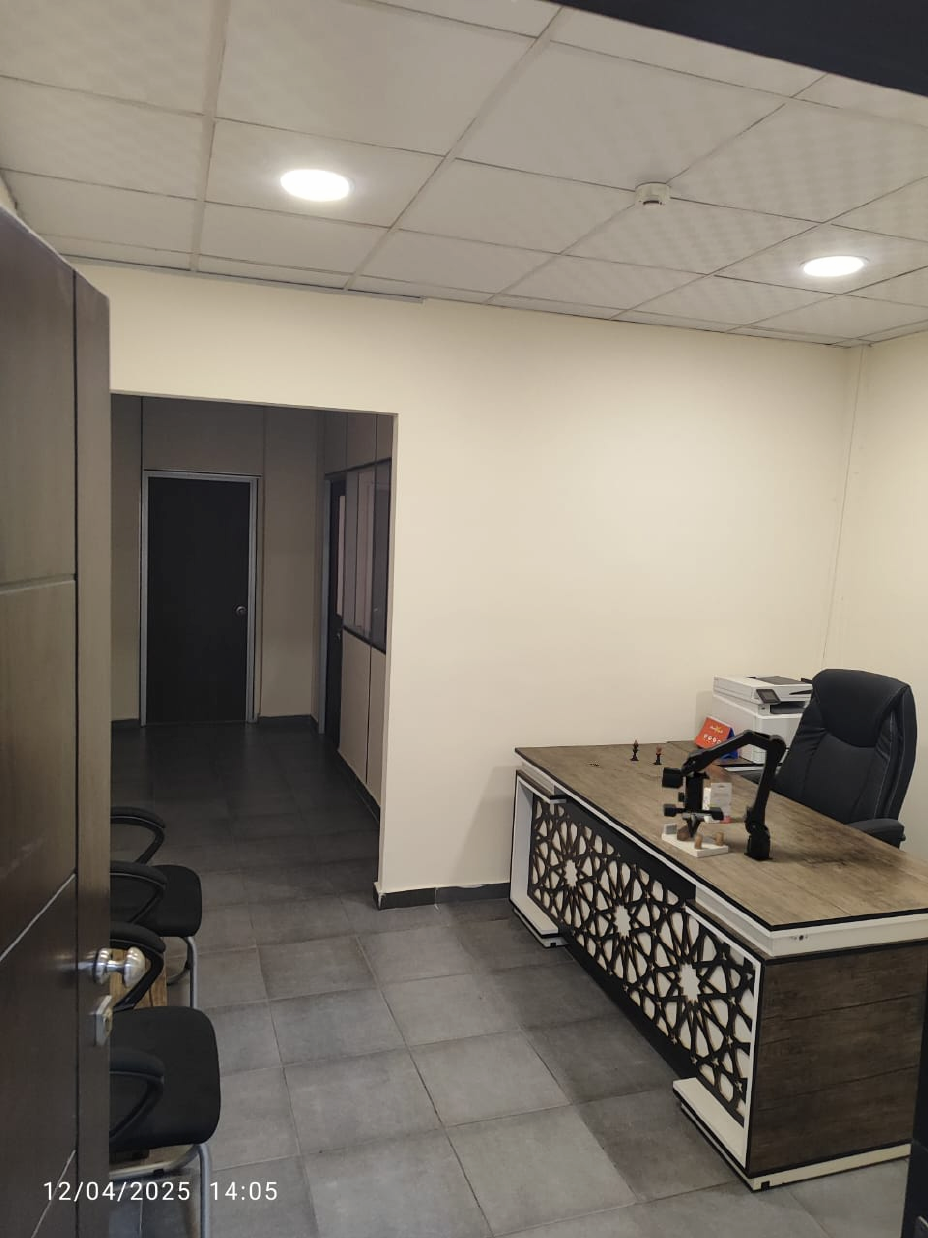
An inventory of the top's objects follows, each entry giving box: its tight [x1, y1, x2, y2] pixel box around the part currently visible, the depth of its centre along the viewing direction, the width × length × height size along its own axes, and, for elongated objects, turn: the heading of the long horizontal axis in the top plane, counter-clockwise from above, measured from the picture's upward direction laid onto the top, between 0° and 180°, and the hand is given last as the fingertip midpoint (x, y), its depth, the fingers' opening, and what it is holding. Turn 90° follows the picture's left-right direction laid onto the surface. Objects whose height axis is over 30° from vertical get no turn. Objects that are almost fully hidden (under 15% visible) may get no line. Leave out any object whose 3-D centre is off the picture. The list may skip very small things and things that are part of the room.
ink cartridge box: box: [702, 782, 733, 824], centre depth 306 cm, size 9×5×15 cm, turn 101°
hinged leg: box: [677, 819, 698, 841], centre depth 283 cm, size 12×2×4 cm, turn 144°
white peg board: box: [661, 822, 729, 858], centre depth 280 cm, size 17×13×6 cm
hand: (691, 837), depth 279 cm, fingers closed
